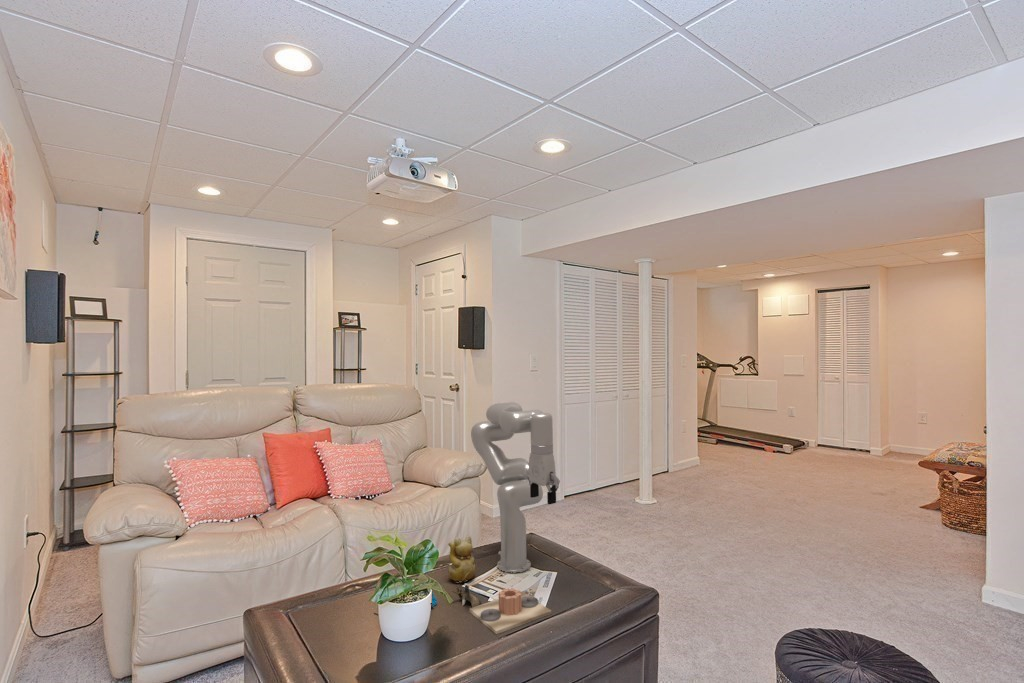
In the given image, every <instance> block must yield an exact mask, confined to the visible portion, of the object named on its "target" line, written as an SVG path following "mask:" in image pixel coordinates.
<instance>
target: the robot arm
mask: <svg viewBox="0 0 1024 683" xmlns="http://www.w3.org/2000/svg"><path fill="white" fill-rule="evenodd" d="M485 416H486V420H485V421H480V422H478V423H475V424H473V426H472V427H471V430H470V438H471V442H472V445H473V448H474V449H475V451H476V453H478V455H479V456H480V457H481V459H482V461H483V463H484V464H485V466H486V469H487V471H488V472H489V475H490V477H491V478H492V481H493V482H494V483H495V484H496V485H498V486H499V487H498V488H497V491H496V497H497V501H498V506H499V515H500V517H499V519H500V520H499V521H500V522H499V523H500V550H499V551H498V553H497V554H498V555H499V556H500V560H498V562H497V563H496V567H497V569H498V568H499V569H500V570H499V569H498V570H499V571H501V570H502V571H501V572H503V571H505V572H504V573H507V572H511V573H510V574H517V573H516V572H520V573H523V572H522V571H524V572H525V570H526V571H528V570H530V568H531V567H532V566H531V565H532V564H531V561H530V560H529V559H528V558H527V531H526V530H527V529H526V528H527V525H526V524H527V521H526V516H525V514H524V513H523V512H522V511H521V508H522V507H527V506H531V505H535V504H540V502H541V501H542V500H543V498H544V492H543V488H542V486H543V487H546V488H547V494H546V495H547V496H546V499H547V505H552V504H557V491H558V489H559V486H560V482H561V481H560V479H559V478H558V476H557V475H556V473H557V472H556V464H555V463H556V462H555V456H554V438H553V436H554V435H553V434H554V433H553V431H554V430H553V429H554V428H553V425H554V424H553V415H552V414H551V413H548V412H543V411H542V410H539V409H532V410H523V408H522V406H521V404H520V403H517V402H514V401H513V402H498V403H494V404H491V405H490V406H489V407H488V408H487V410H486V413H485ZM524 433H530V452H529V459H528V460H526V459H525V458H522V457H517V458H507V456H506V455H505V453H504V451H503V450H502V449H501V447H499V445H497V444H495V443H493V442H499V441H506V440H507V441H508V440H510V439H511V438H513V436H514V435H515V434H524ZM527 569H528V570H527ZM512 572H513V573H512Z"/></svg>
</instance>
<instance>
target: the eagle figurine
mask: <svg viewBox="0 0 1024 683" xmlns="http://www.w3.org/2000/svg"><path fill="white" fill-rule="evenodd" d="M451 592H452V593H453V594H456V596H458V598H459V600H460V599H461V600H462V602H461V607H463V606H465V604H466V601H468V602H470V604H471V608H473V607H476V606H479V605H482V602H481V600H480V599H479V598H478V597H477V596H476V595H474V594H472V592H471V591H470V587H469V584H468V583H467V582H464V590H463V587H462V586H460V588H459V587H458V586H457V587H456V590H454V589H453V588H451ZM461 600H460V601H461Z"/></svg>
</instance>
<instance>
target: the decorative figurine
mask: <svg viewBox="0 0 1024 683" xmlns="http://www.w3.org/2000/svg"><path fill="white" fill-rule="evenodd" d="M472 543H473V542H472V536H470V535H468V534H467V535H466V537H465V539H464V540H462V539H461V538H460V537H459V536H455V538H454V540H453V541H450V542H448V544H447V546H449V548H450V551H449V561H450V563H451V564H450V565H449V567H448V573H449V574H448V576H449V579H451V580H452V581H454V582H455V581H456V582H459V581H466V580H469V581H470V580H471V579H473V577H474V576H475V572H476V564H475V561H476V560H475V557H474V556H473V555H472V552H473V549H474V548H473V544H472ZM456 582H455V583H456Z"/></svg>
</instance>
